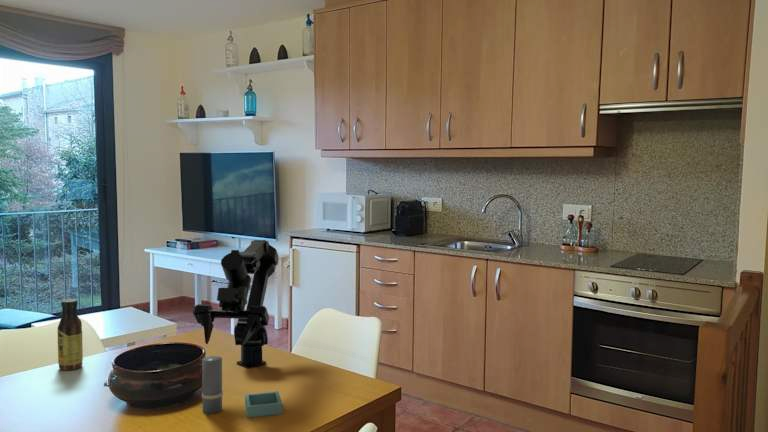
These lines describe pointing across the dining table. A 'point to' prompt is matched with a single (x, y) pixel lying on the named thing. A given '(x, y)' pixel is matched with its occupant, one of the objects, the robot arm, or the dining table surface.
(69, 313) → the sauce bottle
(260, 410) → the frame
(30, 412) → the dining table surface
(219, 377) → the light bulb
